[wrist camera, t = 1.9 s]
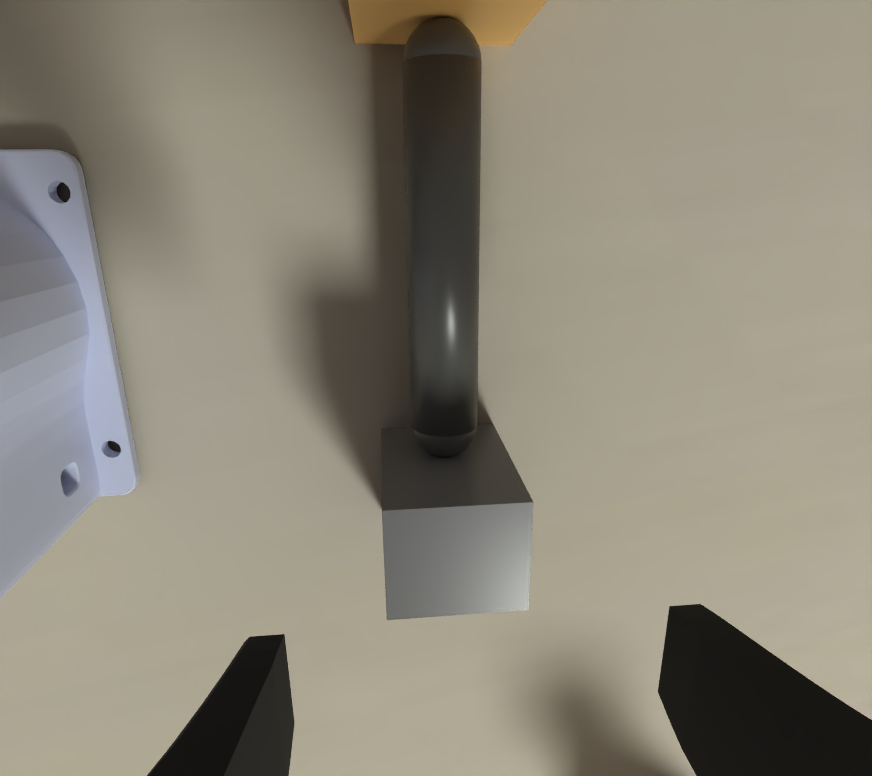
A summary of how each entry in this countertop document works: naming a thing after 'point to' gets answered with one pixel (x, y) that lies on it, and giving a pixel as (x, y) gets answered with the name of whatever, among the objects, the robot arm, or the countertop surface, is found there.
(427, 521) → the bar with block ends
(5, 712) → the countertop surface
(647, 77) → the countertop surface
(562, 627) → the countertop surface
